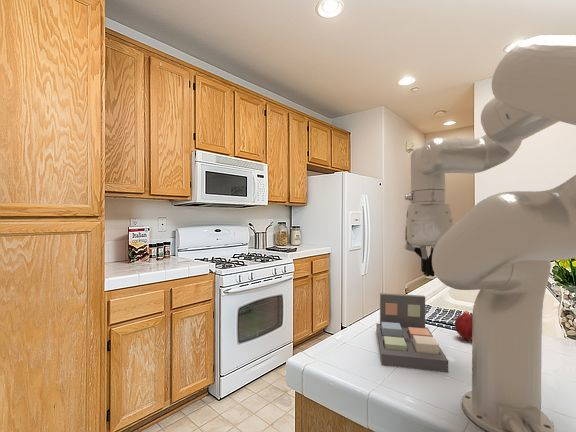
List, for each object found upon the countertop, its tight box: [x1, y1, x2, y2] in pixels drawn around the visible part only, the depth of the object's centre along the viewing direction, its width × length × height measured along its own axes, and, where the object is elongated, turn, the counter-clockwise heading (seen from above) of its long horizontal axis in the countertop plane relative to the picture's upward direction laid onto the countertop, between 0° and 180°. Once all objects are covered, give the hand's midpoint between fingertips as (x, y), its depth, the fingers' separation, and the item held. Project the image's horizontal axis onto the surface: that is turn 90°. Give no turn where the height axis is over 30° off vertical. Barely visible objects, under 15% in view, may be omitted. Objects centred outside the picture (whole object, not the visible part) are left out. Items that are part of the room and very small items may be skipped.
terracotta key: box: [408, 327, 431, 339], centre depth 80 cm, size 5×5×2 cm
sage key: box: [384, 336, 407, 351], centre depth 74 cm, size 5×5×2 cm
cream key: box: [413, 335, 440, 354], centre depth 72 cm, size 5×5×2 cm
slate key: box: [381, 322, 402, 338], centre depth 81 cm, size 5×5×2 cm
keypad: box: [375, 292, 449, 373], centre depth 77 cm, size 20×14×12 cm
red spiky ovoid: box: [454, 310, 473, 341], centre depth 83 cm, size 6×6×8 cm
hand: (428, 275), depth 72 cm, fingers closed
